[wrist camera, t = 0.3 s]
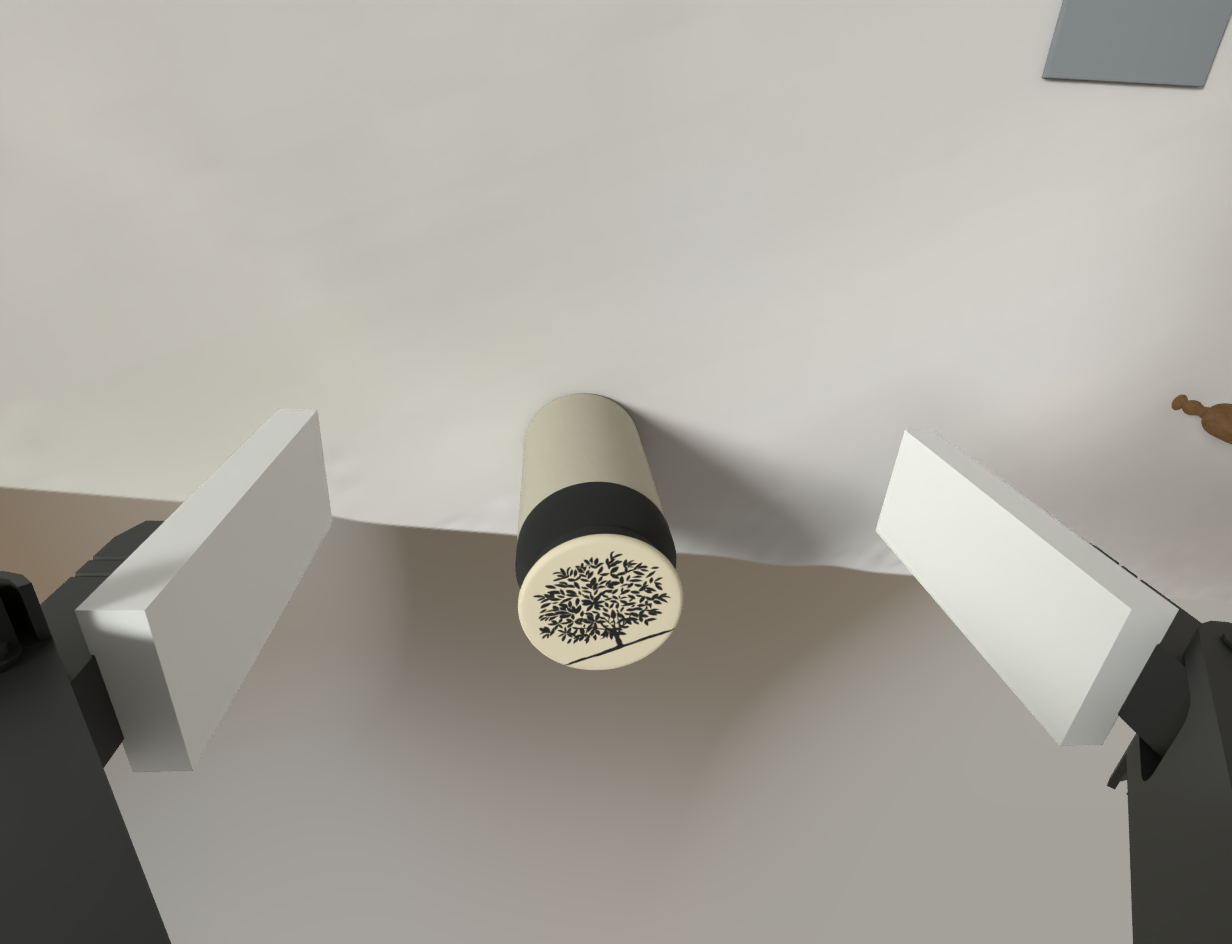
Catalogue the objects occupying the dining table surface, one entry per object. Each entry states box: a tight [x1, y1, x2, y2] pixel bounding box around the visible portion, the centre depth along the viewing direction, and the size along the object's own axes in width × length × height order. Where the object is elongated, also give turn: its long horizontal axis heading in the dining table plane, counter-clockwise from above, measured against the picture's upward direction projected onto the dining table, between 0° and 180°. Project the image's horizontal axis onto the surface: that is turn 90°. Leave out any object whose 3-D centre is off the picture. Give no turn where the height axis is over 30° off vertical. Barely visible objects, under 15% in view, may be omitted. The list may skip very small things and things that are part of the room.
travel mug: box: [516, 393, 683, 670], centre depth 37 cm, size 8×8×18 cm
